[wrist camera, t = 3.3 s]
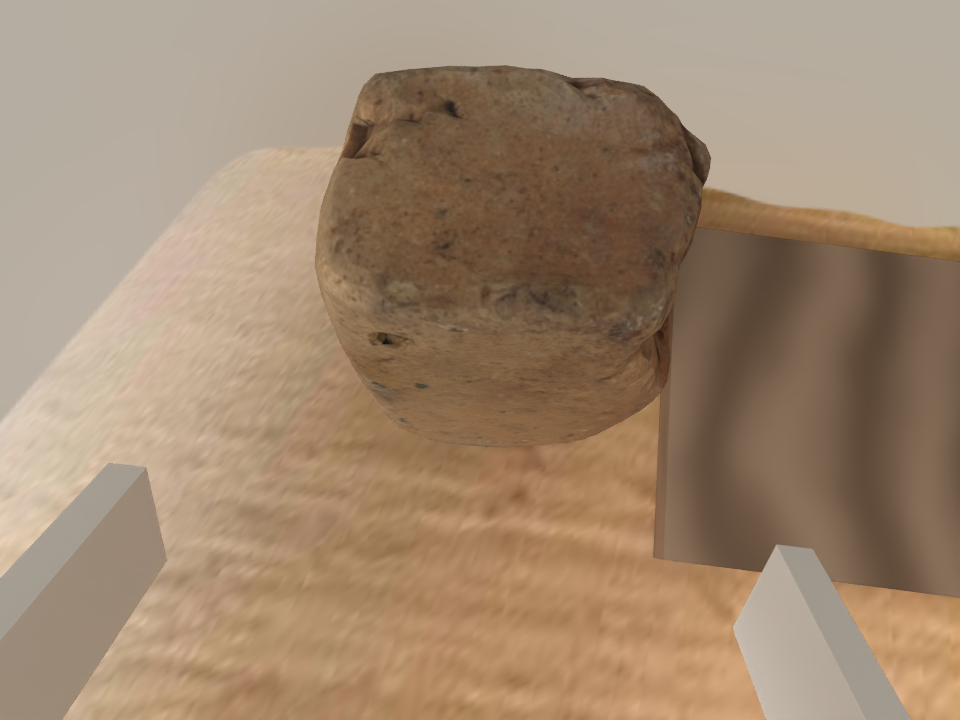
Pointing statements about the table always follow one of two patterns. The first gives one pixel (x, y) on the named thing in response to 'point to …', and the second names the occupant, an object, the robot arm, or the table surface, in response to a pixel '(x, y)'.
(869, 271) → the walnut board
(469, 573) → the table surface
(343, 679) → the table surface
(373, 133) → the block
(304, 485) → the table surface
